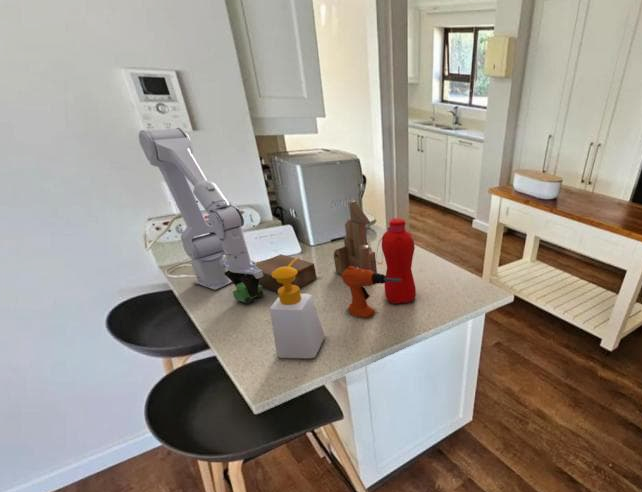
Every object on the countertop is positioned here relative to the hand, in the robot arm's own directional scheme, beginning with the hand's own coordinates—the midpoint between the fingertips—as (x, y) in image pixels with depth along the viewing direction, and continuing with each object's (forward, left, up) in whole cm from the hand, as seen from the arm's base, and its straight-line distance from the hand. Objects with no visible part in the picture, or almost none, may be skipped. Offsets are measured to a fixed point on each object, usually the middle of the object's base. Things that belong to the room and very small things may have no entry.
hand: (249, 293), depth 109 cm
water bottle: (+38, +22, -2) cm, 44 cm away
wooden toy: (+18, +28, -2) cm, 34 cm away
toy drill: (+38, +10, -2) cm, 39 cm away
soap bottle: (+30, -9, -2) cm, 31 cm away
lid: (0, +13, +3) cm, 14 cm away
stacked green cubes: (0, 0, -2) cm, 2 cm away
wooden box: (0, +13, -2) cm, 14 cm away
